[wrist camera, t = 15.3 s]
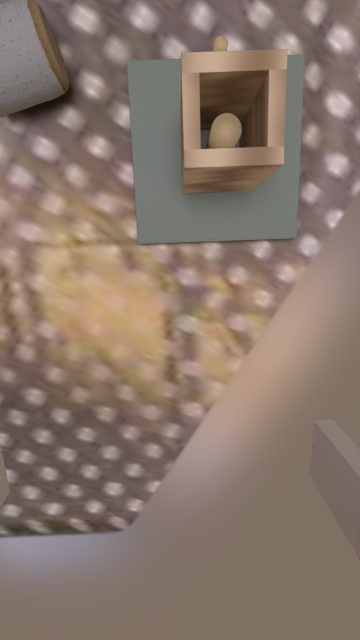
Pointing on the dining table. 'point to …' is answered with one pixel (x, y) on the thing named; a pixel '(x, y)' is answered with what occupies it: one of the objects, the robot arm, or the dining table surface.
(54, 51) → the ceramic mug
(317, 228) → the dining table surface
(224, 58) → the oak collar
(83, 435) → the dining table surface
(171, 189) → the post stand
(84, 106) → the dining table surface
